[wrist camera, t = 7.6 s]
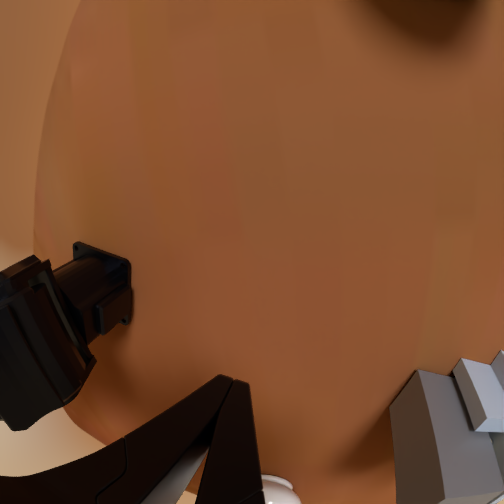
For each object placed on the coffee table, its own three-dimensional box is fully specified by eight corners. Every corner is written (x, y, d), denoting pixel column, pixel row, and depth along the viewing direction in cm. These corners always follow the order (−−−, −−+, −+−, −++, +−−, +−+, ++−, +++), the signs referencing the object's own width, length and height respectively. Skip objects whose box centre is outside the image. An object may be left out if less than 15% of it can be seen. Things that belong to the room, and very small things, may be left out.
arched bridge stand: (400, 433, 23) (406, 536, 12) (471, 341, 18) (525, 456, 7) (437, 437, 22) (451, 530, 11) (508, 352, 18) (559, 450, 7)
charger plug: (389, 407, 22) (396, 527, 11) (417, 369, 20) (445, 498, 9) (449, 417, 21) (470, 519, 10) (478, 382, 19) (515, 487, 8)
